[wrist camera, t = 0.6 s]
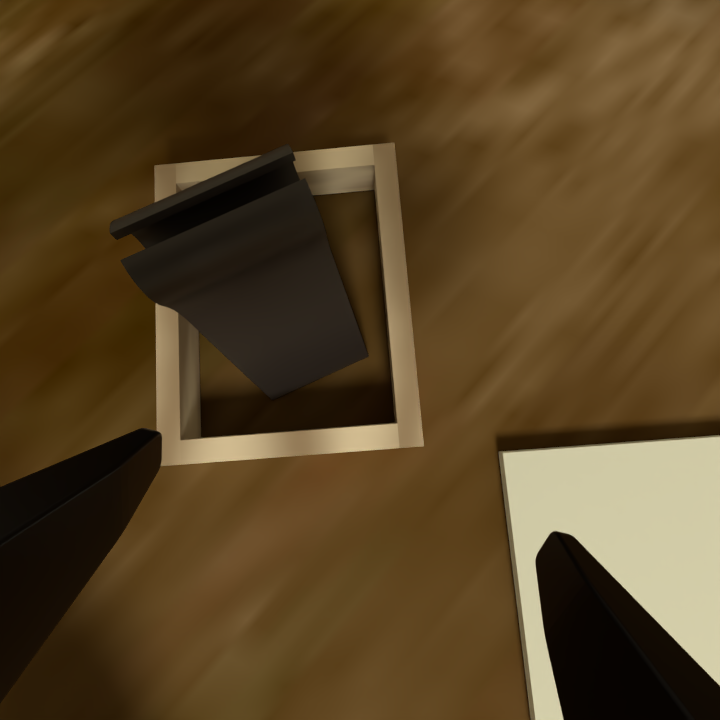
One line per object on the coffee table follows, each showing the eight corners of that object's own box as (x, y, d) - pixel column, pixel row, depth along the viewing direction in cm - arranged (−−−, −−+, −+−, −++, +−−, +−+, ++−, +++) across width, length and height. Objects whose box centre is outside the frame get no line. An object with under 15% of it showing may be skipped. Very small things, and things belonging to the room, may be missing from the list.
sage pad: (532, 735, 20) (538, 748, 20) (498, 451, 22) (502, 452, 22) (818, 719, 20) (837, 732, 19) (758, 432, 22) (773, 432, 21)
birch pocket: (180, 460, 23) (157, 466, 20) (176, 189, 25) (154, 165, 23) (418, 442, 23) (423, 446, 20) (392, 169, 25) (394, 142, 22)
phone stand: (216, 263, 25) (67, 121, 13) (307, 223, 25) (244, 44, 13) (273, 400, 23) (166, 385, 11) (369, 357, 23) (362, 298, 12)
